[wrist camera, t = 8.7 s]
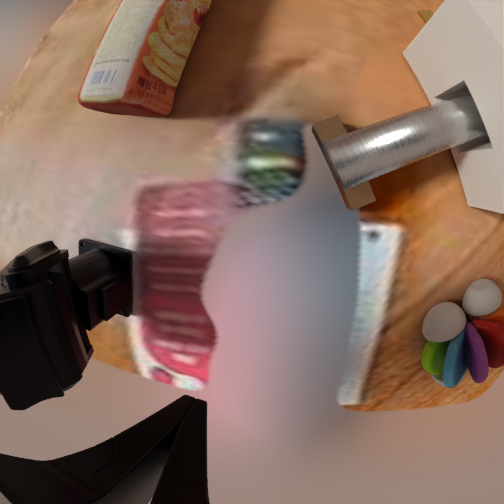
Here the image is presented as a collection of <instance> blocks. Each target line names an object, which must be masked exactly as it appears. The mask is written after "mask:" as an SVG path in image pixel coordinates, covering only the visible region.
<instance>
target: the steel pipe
mask: <svg viewBox="0 0 504 504" xmlns="http://www.w3.org/2000/svg"><path fill="white" fill-rule="evenodd" d="M417 13H418V14H419V16H420V17H421V18H422V19H423V21H424V22H425V23H427V22H428V21H429V19H430V18H431V17H432V16H433V13H432V12H431V11H430V10H426V11H418V12H417ZM312 132H313V134H314V136H315V138H316V140H317V142H318V144H319V147H320V148H321V151H322V153H323V155H324V157H325V159H326V161H327V164H328V165H329V168H330V170H331V172H332V175H333V177H334V179H335V181H336V184H337V186H338V188H339V190H340V193H341V195H342V198H343V200H344V203H345V205H346V208H348V209H349V210H351V211H353V210H355V209H357V208H360V207H362V206H365V205H367V204H369V203H372V202H374V201H376V199H375V196H374V194H373V191H372V188H371V186H370V183H369V180H371V179H374V178H376V177H379V176H381V175H384V174H386V173H389V172H391V171H394V170H396V169H399V168H401V167H404V166H406V165H409V164H411V163H414V162H416V161H419V160H421V159H424V158H427V157H429V156H432V155H434V154H437V153H439V152H442V151H445V150H447V149H450V148H452V147H455V146H458V145H460V144H463V143H466V142H468V141H471V140H474V139H476V138H479V137H482V136H484V135H487V134H488V133H487V130H486V128H485V125H484V123H483V120H482V118H481V115H480V113H479V111H478V108H477V106H476V104H475V102H474V99H473V97H472V95H471V94H469V95H465V96H461V97H457V98H454V99H450V100H446V101H443V102H439V103H436V104H432V105H429V106H426V107H422V108H419V109H416V110H413V111H409V112H406V113H403V114H400V115H397V116H394V117H391V118H388V119H385V120H382V121H380V122H377V123H374V124H371V125H368V126H366V127H363V128H360V129H357V130H355V131H352V132H350V133H347V132H346V130H345V128H344V126H343V124H342V122H341V120H340V118H339V116H338V115H337V116H334V117H331V118H329V119H326V120H324V121H321V122H318V123H316V124H313V127H312Z"/></svg>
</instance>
